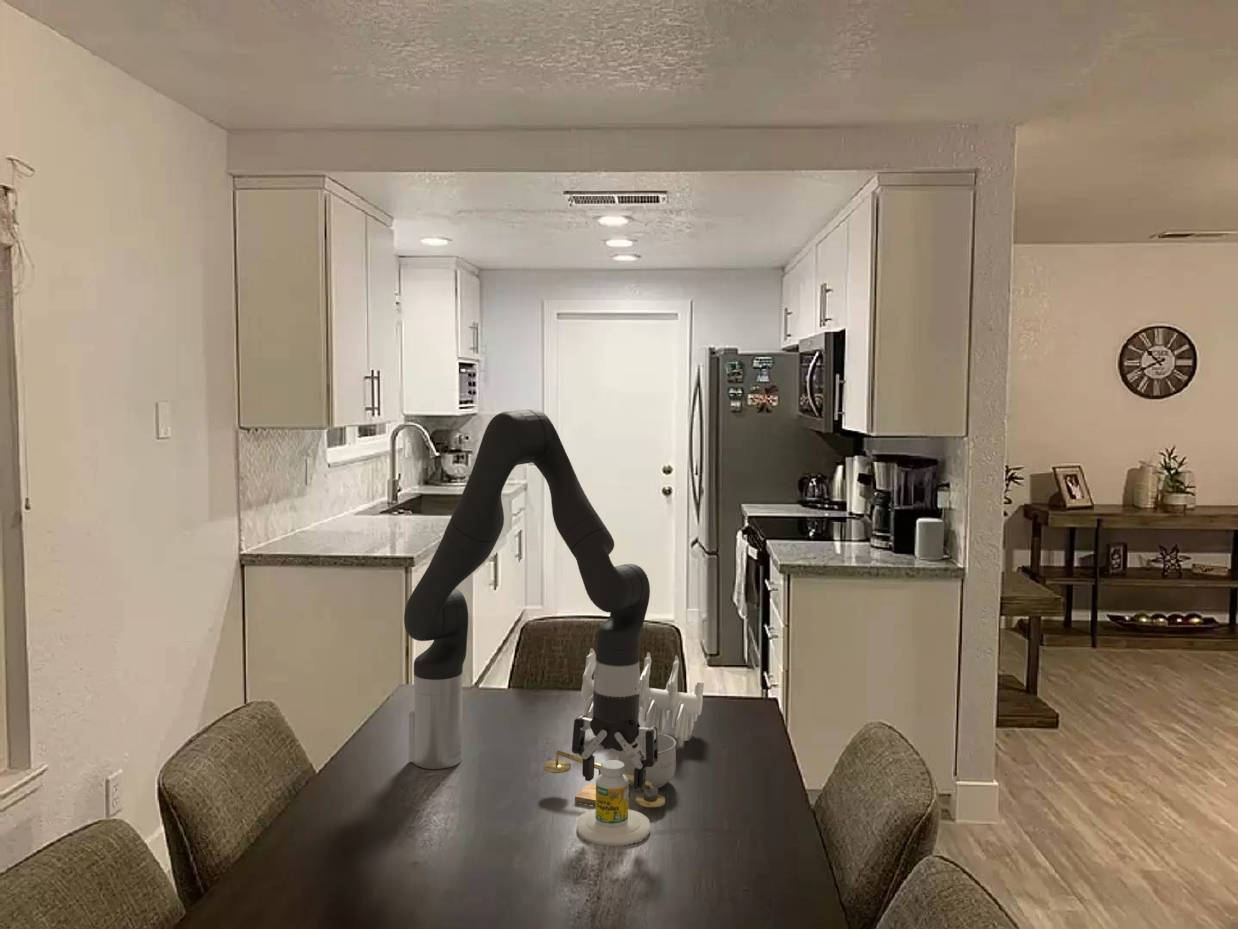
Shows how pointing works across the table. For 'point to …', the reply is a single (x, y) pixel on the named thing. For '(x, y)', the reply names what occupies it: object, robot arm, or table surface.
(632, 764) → the teacup
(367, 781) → the table surface
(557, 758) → the balance
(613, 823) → the supplement bottle
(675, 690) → the spiral staircase
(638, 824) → the plate
